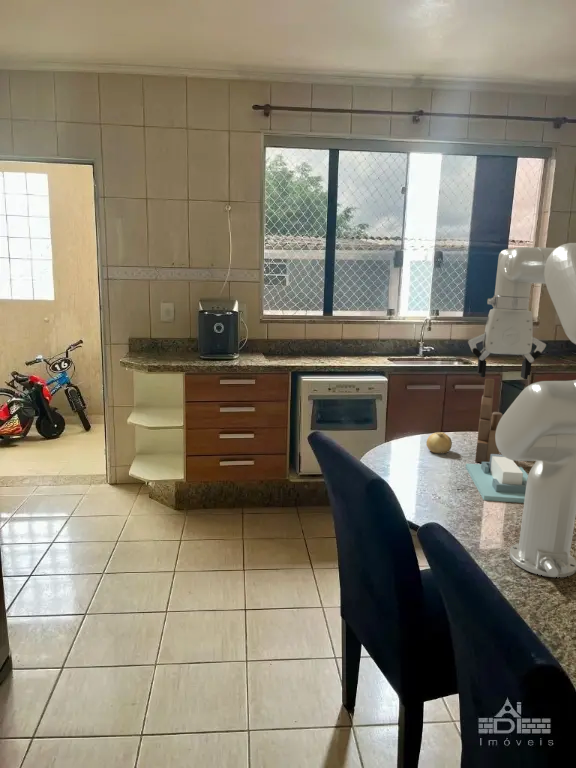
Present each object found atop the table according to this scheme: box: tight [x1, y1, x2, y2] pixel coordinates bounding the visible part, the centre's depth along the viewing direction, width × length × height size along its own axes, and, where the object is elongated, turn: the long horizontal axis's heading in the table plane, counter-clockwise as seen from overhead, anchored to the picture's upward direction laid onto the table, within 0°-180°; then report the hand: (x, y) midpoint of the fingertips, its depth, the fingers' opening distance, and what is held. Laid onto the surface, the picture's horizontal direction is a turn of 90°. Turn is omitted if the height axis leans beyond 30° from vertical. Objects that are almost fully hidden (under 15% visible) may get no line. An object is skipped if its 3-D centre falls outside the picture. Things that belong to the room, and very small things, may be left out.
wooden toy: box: [474, 378, 503, 464], centre depth 177 cm, size 16×7×25 cm, turn 160°
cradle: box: [465, 462, 529, 504], centre depth 156 cm, size 24×16×3 cm, turn 174°
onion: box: [426, 431, 453, 455], centre depth 181 cm, size 8×8×7 cm
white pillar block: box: [489, 453, 523, 485], centre depth 155 cm, size 14×5×5 cm, turn 174°
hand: (502, 377), depth 133 cm, fingers open, 9 cm apart
